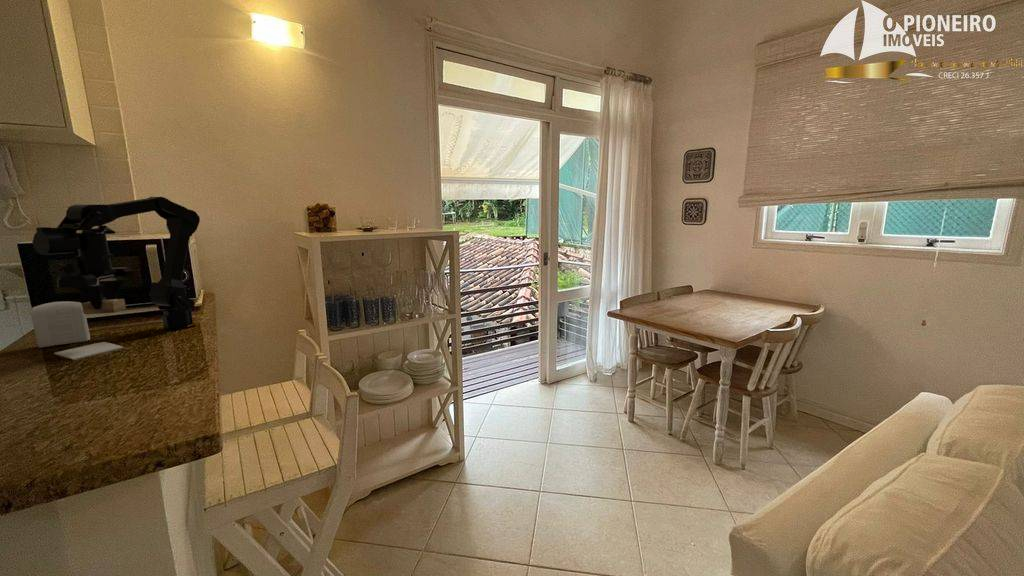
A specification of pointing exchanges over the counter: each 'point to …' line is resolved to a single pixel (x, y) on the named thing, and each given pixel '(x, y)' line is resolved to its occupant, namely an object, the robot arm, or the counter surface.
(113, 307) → the ridged brown block
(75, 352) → the mat
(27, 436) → the counter surface
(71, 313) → the photo printer
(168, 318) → the robot arm
